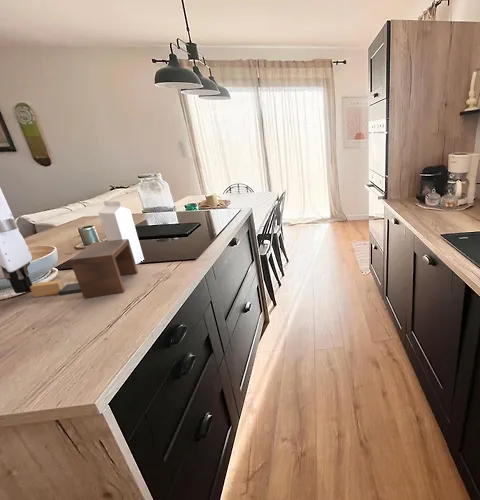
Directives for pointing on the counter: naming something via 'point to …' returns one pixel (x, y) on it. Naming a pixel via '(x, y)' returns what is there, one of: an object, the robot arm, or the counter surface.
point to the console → (103, 267)
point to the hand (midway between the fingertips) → (25, 291)
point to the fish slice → (54, 288)
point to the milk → (120, 226)
